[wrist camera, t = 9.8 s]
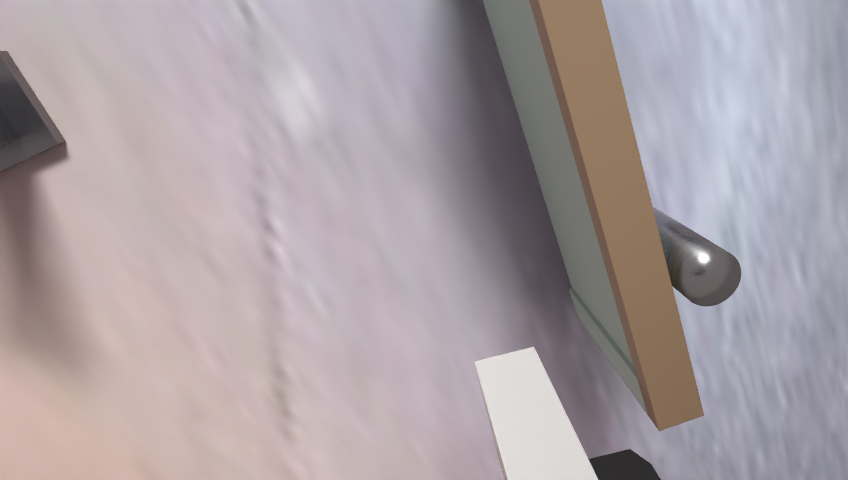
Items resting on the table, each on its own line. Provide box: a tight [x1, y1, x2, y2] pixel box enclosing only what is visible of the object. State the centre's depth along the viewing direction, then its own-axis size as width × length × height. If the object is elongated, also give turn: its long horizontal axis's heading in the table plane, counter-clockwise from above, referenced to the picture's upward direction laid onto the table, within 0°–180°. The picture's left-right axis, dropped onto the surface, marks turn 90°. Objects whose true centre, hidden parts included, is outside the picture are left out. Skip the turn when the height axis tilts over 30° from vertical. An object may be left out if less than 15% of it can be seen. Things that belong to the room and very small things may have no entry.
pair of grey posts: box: [0, 51, 741, 306], centre depth 27 cm, size 32×22×13 cm
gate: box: [483, 0, 704, 431], centre depth 27 cm, size 22×2×11 cm, turn 20°
